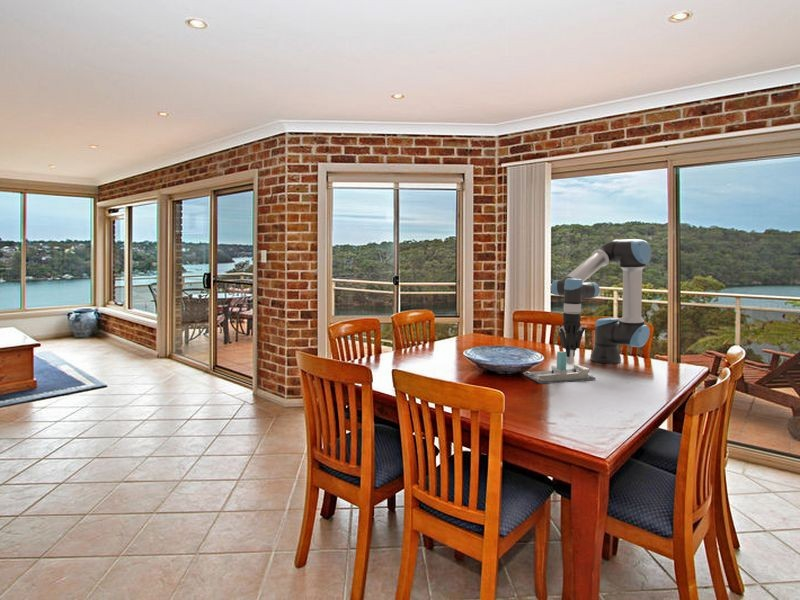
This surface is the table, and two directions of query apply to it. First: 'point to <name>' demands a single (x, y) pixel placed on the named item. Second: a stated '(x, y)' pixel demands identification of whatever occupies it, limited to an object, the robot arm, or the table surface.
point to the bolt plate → (534, 376)
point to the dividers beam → (582, 373)
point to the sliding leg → (560, 363)
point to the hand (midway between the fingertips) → (569, 363)
